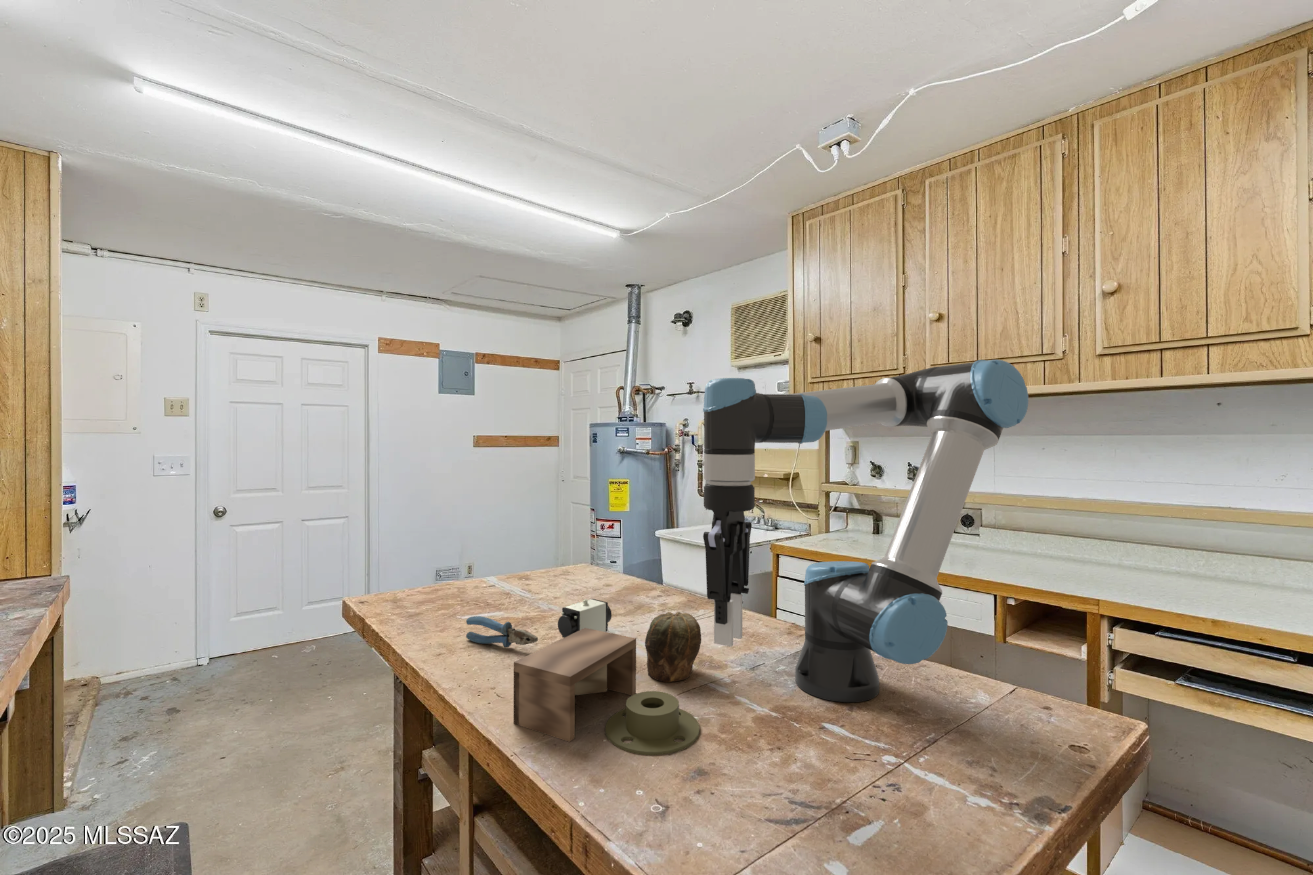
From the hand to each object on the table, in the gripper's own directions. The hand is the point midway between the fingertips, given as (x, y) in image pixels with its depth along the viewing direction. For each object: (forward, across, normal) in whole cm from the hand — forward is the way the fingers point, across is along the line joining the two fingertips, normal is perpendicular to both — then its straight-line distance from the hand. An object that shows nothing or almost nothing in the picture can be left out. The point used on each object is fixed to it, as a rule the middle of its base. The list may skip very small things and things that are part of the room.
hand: (728, 640), depth 86 cm
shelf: (+17, 0, -27) cm, 32 cm away
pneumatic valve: (+17, -20, -41) cm, 48 cm away
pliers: (+17, -14, -60) cm, 64 cm away
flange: (+17, 0, -13) cm, 22 cm away
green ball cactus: (+17, -20, -20) cm, 33 cm away
